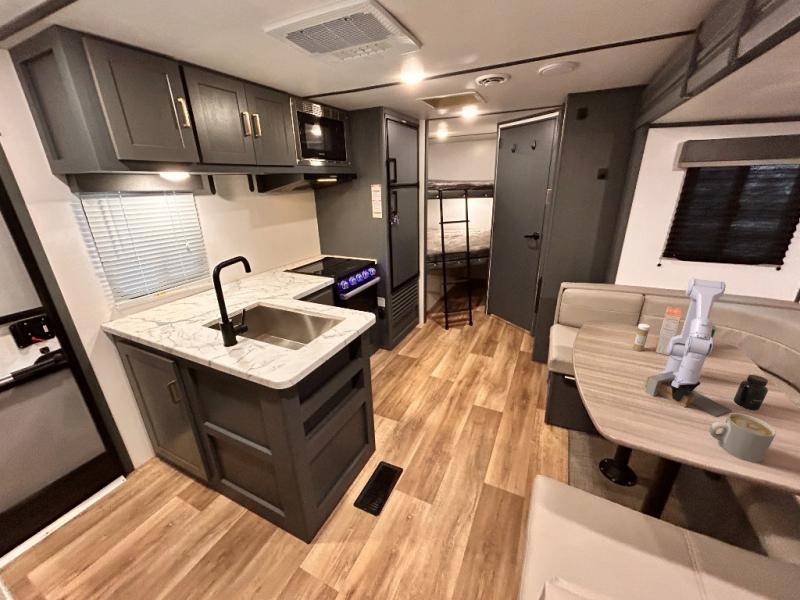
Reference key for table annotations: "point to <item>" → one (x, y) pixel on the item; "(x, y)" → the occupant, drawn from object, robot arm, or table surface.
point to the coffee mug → (744, 436)
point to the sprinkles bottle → (641, 337)
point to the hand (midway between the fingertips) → (679, 397)
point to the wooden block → (667, 392)
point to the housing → (658, 382)
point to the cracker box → (668, 329)
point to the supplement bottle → (751, 392)
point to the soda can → (713, 331)
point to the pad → (709, 405)
